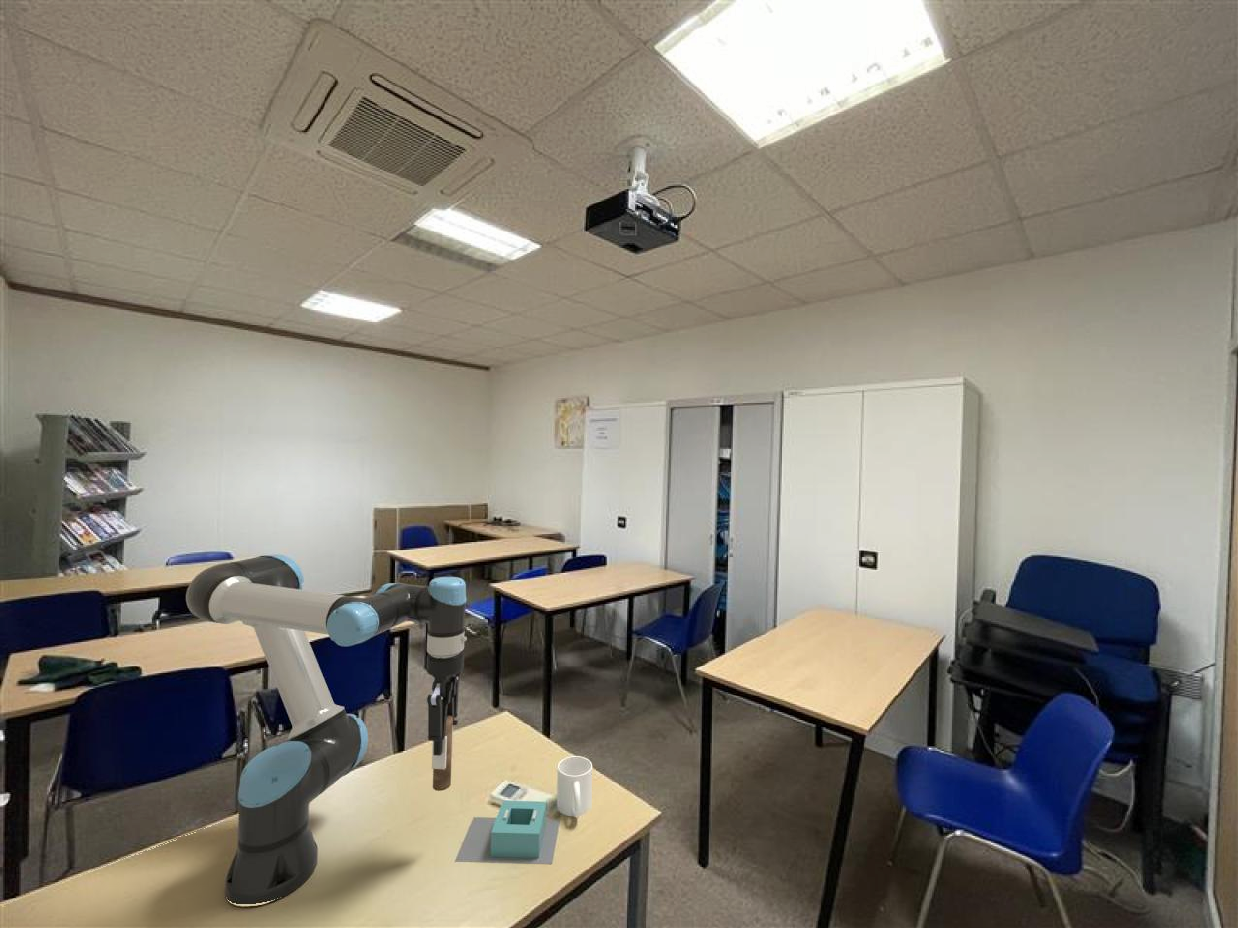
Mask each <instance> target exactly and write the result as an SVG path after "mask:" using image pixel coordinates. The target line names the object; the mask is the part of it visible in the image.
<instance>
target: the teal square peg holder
mask: <svg viewBox="0 0 1238 928" xmlns="http://www.w3.org/2000/svg"><path fill="white" fill-rule="evenodd" d="M547 803H548V802H547V801H536V800H535V801H534V800H533V801H531V800H505V799H504V800H502V801H501V804H500V808H499V810H498V813H497V815H496V817H495V818H496V821H495V824H494V826H493V829H492V832H491V857H521V858H539V855H540V850H541V845H542V841H543V836H544V832H545V827H546V819H547V809H548V808H547V807H548V806H547Z"/></svg>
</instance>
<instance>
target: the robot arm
mask: <svg viewBox="0 0 1238 928" xmlns="http://www.w3.org/2000/svg"><path fill="white" fill-rule="evenodd" d="M303 583H304V575H303V571H302V569H301V567H300V565H299V564H298V563H297V562H295V560H293V559H292V558H291V557H289V556H285V555H283V554H270V555H268V554H264V555H260V556H255V557H251V558H246V559H241V560H235V561H230V562H224V563H219V564H216V565H212V566H210V567H207V568H206V569H204V570H202V571H201V572H200V573H198V574H197V575H195V577H194V578H193V579H192V580H191V582H190V583H189V586H188V587H187V589H186V594H185V602H186V605H187V608H188V610H189V611H190V613H192V614H193V616H195V617H196V618H199V620H203V621H206V622H209V623H214V624H215V623H216V624H221V625H222V624H223V625H229V624H233V623H236V622H242V625H245V626H249V627H251V628H253V629H254V632H255V634H256V637H257V639H258V643H259V644H260V647H261V649H262V653H263V654H264V657H265V660H266V662H267V665H268V667H269V670H270V672H271V675H272V677H273V680H274V683H275V686H276V688H277V690H278V693H279V696H280V698H281V700H282V703H283V706H284V709H285V710H286V713H287V715H288V718H289V720H290V723H291V725H292V729H291V730H290V733H289V735H288V736H287V738H288V739H287V740H288V741H285V742H282V743H279V744H278V745H273V746H270V747H269V748H267V749H265V750H263V751H261V752H259V753H258V754H256V755H255V756H254V757H253V758H251V759H250V761H249V762H248V763H247V764H246V765H245V766H244V768H243V770H242V772H241V774H240V778H239V787H238V790H237V801H238V815H237V816H238V818H237V819H238V820H237V821H238V822H237V823H238V825H237V826H238V827H237V848H236V851H235V853H234V856H233V858H232V861H231V864H230V867H229V870H228V872H227V874H226V876H225V883H224V896H225V895H226V897H227V899H228V900H229V901H231V902H232V903H236V904H256V903H262V902H267V901H271V900H274V899H277V898H280V897H282V898H284V897H286V896H288V895H290V894H291V893H293V892H294V891H296V890H297V889H299V888H301V886H302V885H303V884H304V883H305V882H306V881H307V880H309V878H310V877H311V875H312V874H313V873H314V872H315V869H316V868H317V865H318V858H319V855H318V854H319V852H318V851H319V848H318V845H317V842H316V841H315V838H314V835H313V833H312V829H311V827H310V823H309V821H310V820H309V818H310V817H309V816H310V804H311V802H312V801H314V800H315V799H316V798H318V796H320V795H321V794H323V793H324V792H325V791H326V790H327V789H329V788H330V787H331V786H332V785H334V784H335V783H336V782H338V781H339V780H340V779H342V778H343V777H345V776H347V775H348V774H350V773H351V771H353V769H354V768H355V767H356V766H357V765H358V764H359V763H360V762H361V761H362V760H363V759H364V756H366V751H367V749H368V747H369V746H368V745H369V734H368V733H369V732H368V729H367V727H366V724H365V723H364V720H362V718H360V717H357V715H355V714H353V713H347V711H346V709H345V706H341V705H338V704H336V703H335V702H334V700H333V698H332V695H331V692H330V690H329V688H328V685H327V683H326V680H325V677H324V676H323V672H322V670H321V668H320V665H319V663H318V660H317V658H316V655H315V653H314V651H313V648H312V645H311V643H310V641H309V639H308V636H307V633H306V632H308V633H316V634H323V635H328V637H329V638H330V640H331V641H332V642H334V643H335V644H336V645H338V646H340V647H352V646H355V645H358V644H363V643H364V642H366V641H368V640H370V639H371V638H373V637H375V636H377V635H380V634H381V633H384V632H385V631H388V630H390V629H392V628H394V627H396V626H399V625H401V624H403V623H405V622H415V623H424V624H425V623H427V636H426V637H427V638H426V640H427V641H426V652H427V655H426V672H427V674H428V675H431V676H432V677H433V678H434V680H433V682H432V686H431V690H432V694H428V695H427V698H426V701H427V707H428V708H427V711H428V714H427V719H428V720H427V723H428V725H427V727H428V729H427V731H428V732H427V733H428V734H427V739H428V741H429V742H430V741H431V742H432V748H431V749H432V750H431V751H432V752H431V754H432V755H431V770H433V769H445V768H446V752H447V736H445V731H446V719H447V715H450V716H452V717H453V726H452V753H453V746H454V745H453V744H454V726H458V723H459V720H458V719H457V717H458V708H459V707H458V706H459V687H460V678H461V672H462V671H463V670H464V667H465V652H464V649H465V642H467V640H468V637H467V636H465V632H466V631H465V630H466V626H465V625H466V605H467V604H466V603H467V589H466V588H467V584H466V582H465V580H464V579H463V578H461V577H457V576H441V577H436V578H433V579H431V581H429V584H428V585H427V586H426V585H417V584H409V583H402V582H397V583H395V582H394V583H391V582H389V583H385V584H384V585H381V587H380V588H379V589H378V590H377V591H376V593H375V594H372V595H370V596H367V597H356V596H355V597H354V596H349V595H348V596H347V595H341V594H336V593H334V594H333V593H327V592H321V591H314V590H308V589H307V590H306V589H303V586H304V585H303ZM283 896H284V897H283ZM226 897H225V898H226ZM227 899H226V900H227ZM280 899H281V898H280Z"/></svg>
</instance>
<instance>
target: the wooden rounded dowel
mask: <svg viewBox="0 0 1238 928" xmlns="http://www.w3.org/2000/svg"><path fill="white" fill-rule="evenodd" d="M452 726H453V727H454V725H453V717H452V716H450V715H447V719H446V731H445V736H447V752H446V768H445V769H432V789H433V790H434V791H436V792H437V791H438V792H439V791H445V790H447V789H449V788H450V787H451V783H452V782H451V781H452V758H453V752H452Z"/></svg>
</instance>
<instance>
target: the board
mask: <svg viewBox="0 0 1238 928" xmlns="http://www.w3.org/2000/svg"><path fill="white" fill-rule="evenodd" d="M496 818H497V817H488V816H487V817H484V816H482V817H480V816H479V817H478V816H473V818H472V821H471V822H470V825H469V827H468V830H467V832H466V834H465V837H464V838H463V841H462V843H461V846H460V849H459V850H458V853H457V856H456V858H455V860H454V862H455V863H456V862H459V863H461V862H463V863H492V864H527V865H553V861H554V858H555V857H554V856H555V850H556V845H557V840H558V839H557V838H558V834H559V828H560V822H561V819H557V818H556V819H555V818H554V819H553V818H552V819H551V818H546V827H545V832H544V836H543V841H542V845H541V850H540V855H539V858H521V857H491V832H492V829H493V826H494V824H495V821H496Z"/></svg>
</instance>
